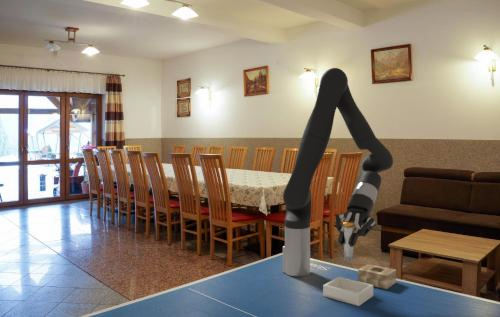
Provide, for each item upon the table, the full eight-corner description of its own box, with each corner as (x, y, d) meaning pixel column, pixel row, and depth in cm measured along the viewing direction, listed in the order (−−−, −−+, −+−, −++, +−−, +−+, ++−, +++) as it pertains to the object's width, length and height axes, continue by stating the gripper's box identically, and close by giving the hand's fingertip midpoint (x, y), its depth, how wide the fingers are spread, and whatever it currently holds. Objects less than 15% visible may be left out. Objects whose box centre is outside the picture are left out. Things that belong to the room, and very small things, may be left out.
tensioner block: (358, 282, 142) (358, 269, 142) (368, 276, 148) (368, 263, 148) (386, 289, 136) (386, 275, 135) (396, 282, 142) (396, 269, 141)
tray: (323, 296, 130) (323, 285, 130) (338, 287, 138) (338, 276, 138) (358, 306, 123) (358, 294, 122) (373, 295, 130) (373, 284, 130)
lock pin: (341, 261, 129) (340, 222, 129) (346, 259, 132) (345, 220, 131) (351, 263, 127) (350, 223, 127) (356, 260, 130) (355, 222, 129)
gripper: (339, 191, 139) (320, 234, 130) (380, 194, 130) (362, 241, 121) (347, 204, 143) (329, 247, 134) (387, 208, 134) (370, 255, 125)
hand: (345, 244), depth 128 cm, fingers closed on lock pin, 2 cm apart
